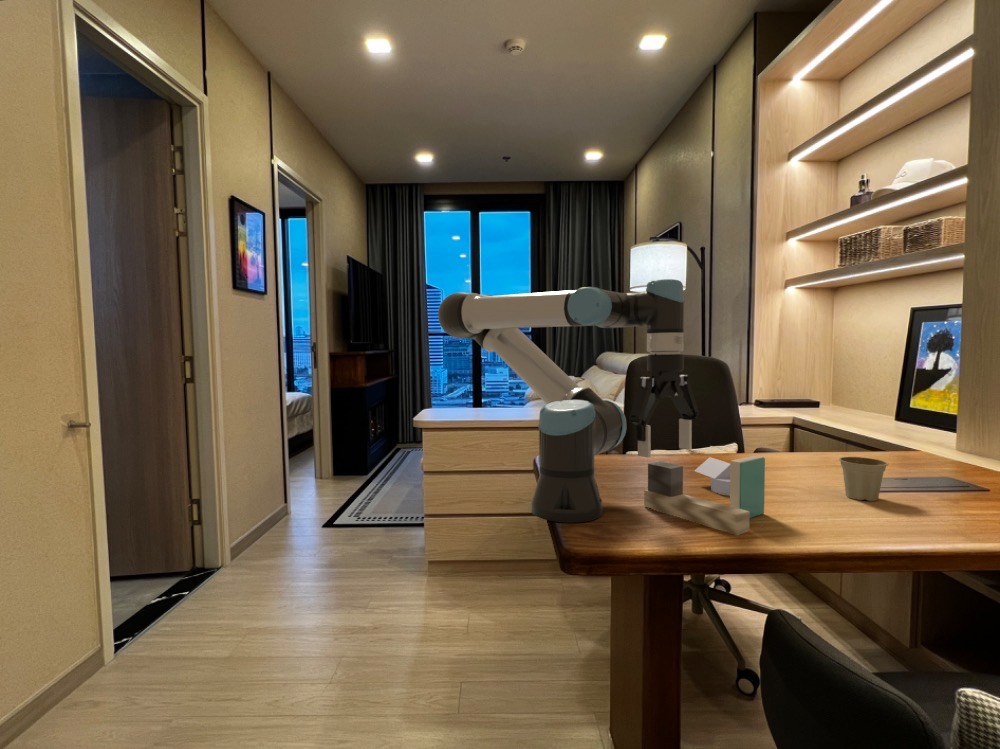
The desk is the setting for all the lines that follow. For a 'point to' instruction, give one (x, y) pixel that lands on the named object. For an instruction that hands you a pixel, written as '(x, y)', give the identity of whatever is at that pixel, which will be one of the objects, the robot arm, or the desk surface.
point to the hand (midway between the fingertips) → (665, 452)
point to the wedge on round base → (717, 475)
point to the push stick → (689, 501)
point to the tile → (748, 484)
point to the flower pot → (862, 477)
